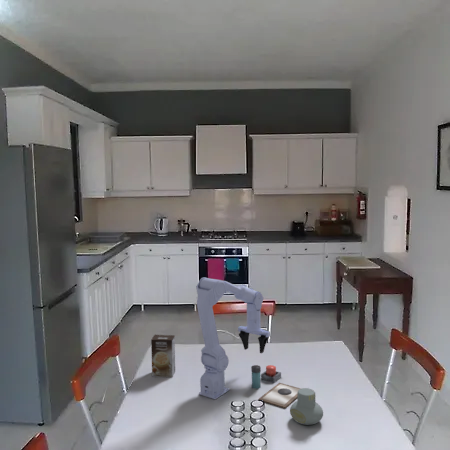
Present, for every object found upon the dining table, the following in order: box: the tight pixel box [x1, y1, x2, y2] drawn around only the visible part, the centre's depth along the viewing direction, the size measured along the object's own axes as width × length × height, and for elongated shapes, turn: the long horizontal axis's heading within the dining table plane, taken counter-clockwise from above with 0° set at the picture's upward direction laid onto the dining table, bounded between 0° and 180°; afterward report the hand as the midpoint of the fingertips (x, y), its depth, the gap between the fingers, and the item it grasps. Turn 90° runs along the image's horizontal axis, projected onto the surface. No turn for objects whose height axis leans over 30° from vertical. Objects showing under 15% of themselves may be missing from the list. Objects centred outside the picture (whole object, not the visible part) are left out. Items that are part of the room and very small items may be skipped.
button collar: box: [260, 370, 282, 383], centre depth 180 cm, size 6×6×2 cm
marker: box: [250, 364, 262, 390], centre depth 172 cm, size 4×4×8 cm
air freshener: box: [289, 387, 324, 426], centre depth 147 cm, size 11×8×10 cm
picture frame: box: [258, 382, 302, 409], centre depth 165 cm, size 16×11×1 cm
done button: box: [265, 364, 277, 377], centre depth 180 cm, size 4×4×3 cm
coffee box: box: [150, 334, 176, 378], centre depth 185 cm, size 9×6×16 cm
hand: (253, 350), depth 184 cm, fingers open, 7 cm apart
